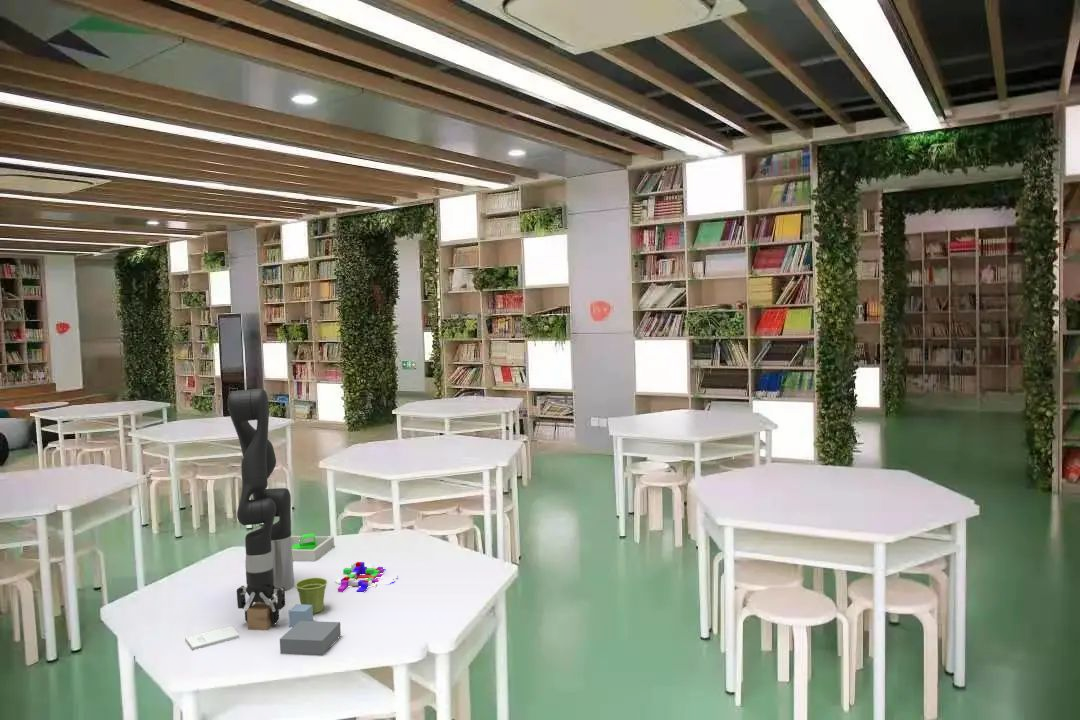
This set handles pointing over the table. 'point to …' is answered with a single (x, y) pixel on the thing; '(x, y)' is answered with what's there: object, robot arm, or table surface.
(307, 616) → the blue cube
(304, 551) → the corral
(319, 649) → the base plinth
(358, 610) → the table surface
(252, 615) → the walnut cube
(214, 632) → the external hard drive
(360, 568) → the building block set
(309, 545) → the toy car
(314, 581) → the plant pot
